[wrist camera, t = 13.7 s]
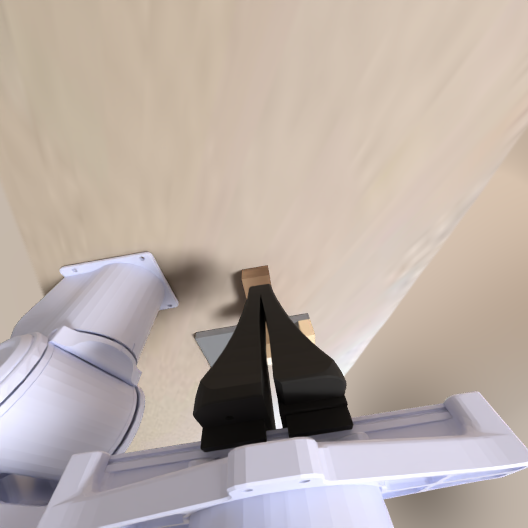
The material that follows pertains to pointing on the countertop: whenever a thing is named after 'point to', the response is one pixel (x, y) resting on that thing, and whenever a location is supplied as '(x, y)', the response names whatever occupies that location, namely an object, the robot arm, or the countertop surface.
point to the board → (218, 338)
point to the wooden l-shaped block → (253, 279)
